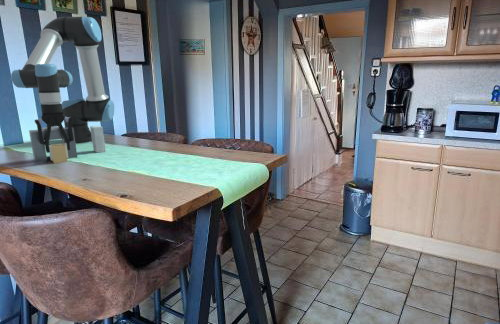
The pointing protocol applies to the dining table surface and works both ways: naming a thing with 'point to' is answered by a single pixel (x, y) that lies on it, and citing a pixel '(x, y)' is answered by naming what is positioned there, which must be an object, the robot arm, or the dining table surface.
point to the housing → (55, 133)
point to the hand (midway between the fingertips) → (59, 158)
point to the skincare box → (97, 139)
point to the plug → (59, 153)
